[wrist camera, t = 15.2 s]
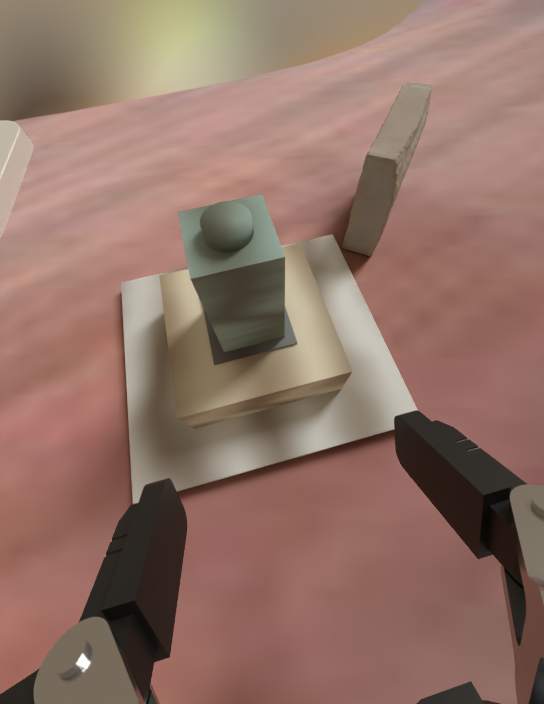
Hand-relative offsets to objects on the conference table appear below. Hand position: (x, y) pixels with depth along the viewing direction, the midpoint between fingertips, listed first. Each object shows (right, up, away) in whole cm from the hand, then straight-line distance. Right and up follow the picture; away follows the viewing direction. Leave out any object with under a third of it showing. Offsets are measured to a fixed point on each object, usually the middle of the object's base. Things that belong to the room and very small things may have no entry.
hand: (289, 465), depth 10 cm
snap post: (-2, +6, +11) cm, 13 cm away
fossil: (+11, +19, +22) cm, 31 cm away
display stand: (-2, +4, +16) cm, 17 cm away
